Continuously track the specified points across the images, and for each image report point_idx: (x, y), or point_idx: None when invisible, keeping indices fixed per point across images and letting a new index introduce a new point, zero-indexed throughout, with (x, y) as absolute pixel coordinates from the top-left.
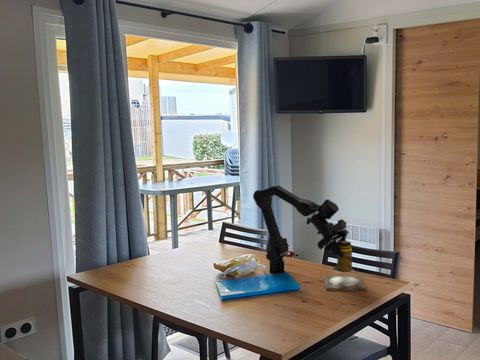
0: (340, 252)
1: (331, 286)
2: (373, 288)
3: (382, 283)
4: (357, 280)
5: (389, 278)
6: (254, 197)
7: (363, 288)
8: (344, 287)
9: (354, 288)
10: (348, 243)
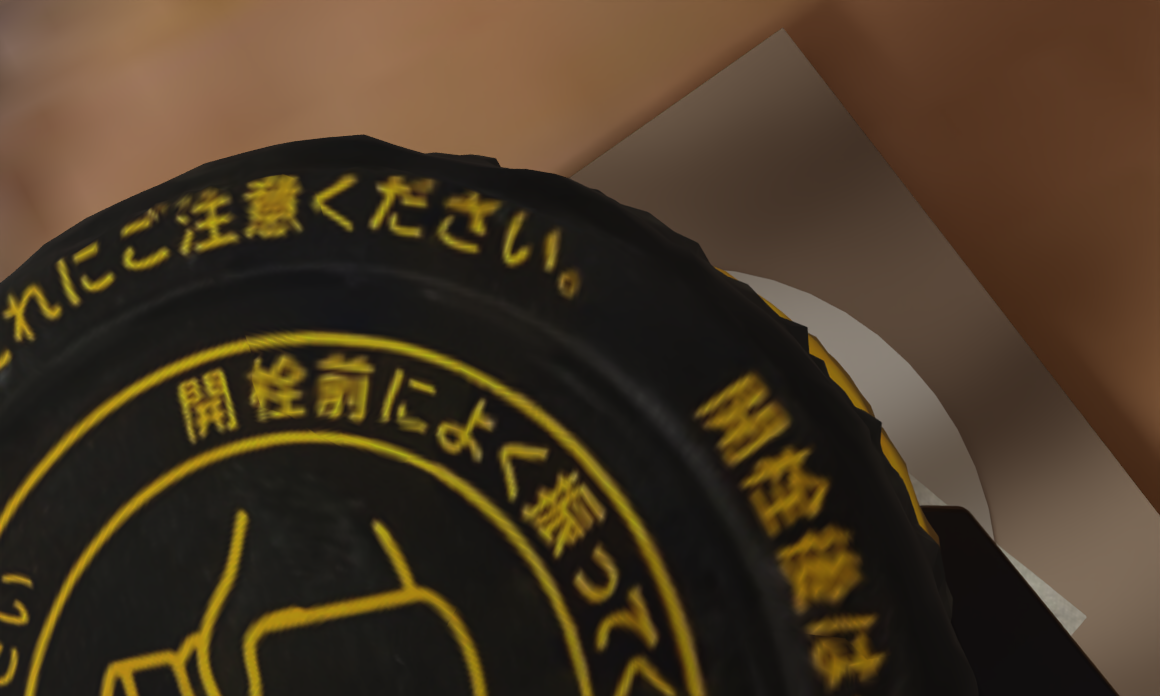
0: (1076, 653)
1: (1151, 639)
2: (611, 4)
3: (295, 3)
4: None
5: (13, 27)
6: None
7: (814, 74)
8: (1036, 371)
9: (917, 207)
10: (521, 198)
